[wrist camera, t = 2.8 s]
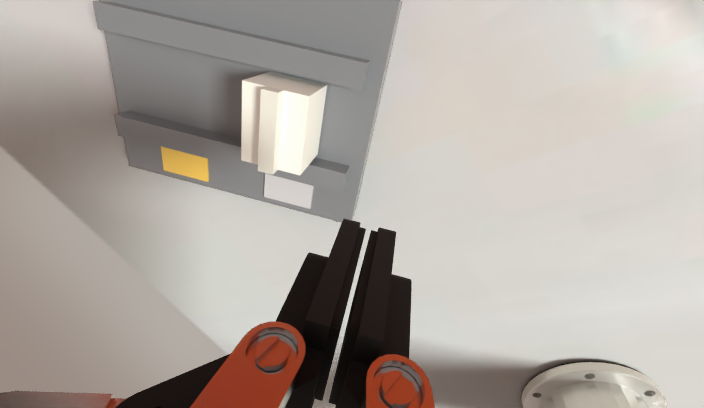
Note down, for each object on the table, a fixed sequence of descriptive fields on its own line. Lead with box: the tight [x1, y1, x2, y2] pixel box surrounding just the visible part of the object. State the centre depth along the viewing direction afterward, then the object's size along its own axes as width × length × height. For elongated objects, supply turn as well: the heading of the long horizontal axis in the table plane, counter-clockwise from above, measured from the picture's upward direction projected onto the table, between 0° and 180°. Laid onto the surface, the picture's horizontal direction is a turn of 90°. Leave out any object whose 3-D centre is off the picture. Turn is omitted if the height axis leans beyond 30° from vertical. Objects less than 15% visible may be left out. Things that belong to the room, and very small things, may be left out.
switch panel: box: [93, 0, 402, 222], centre depth 24 cm, size 20×16×4 cm
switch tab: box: [241, 71, 327, 175], centre depth 21 cm, size 4×5×5 cm
